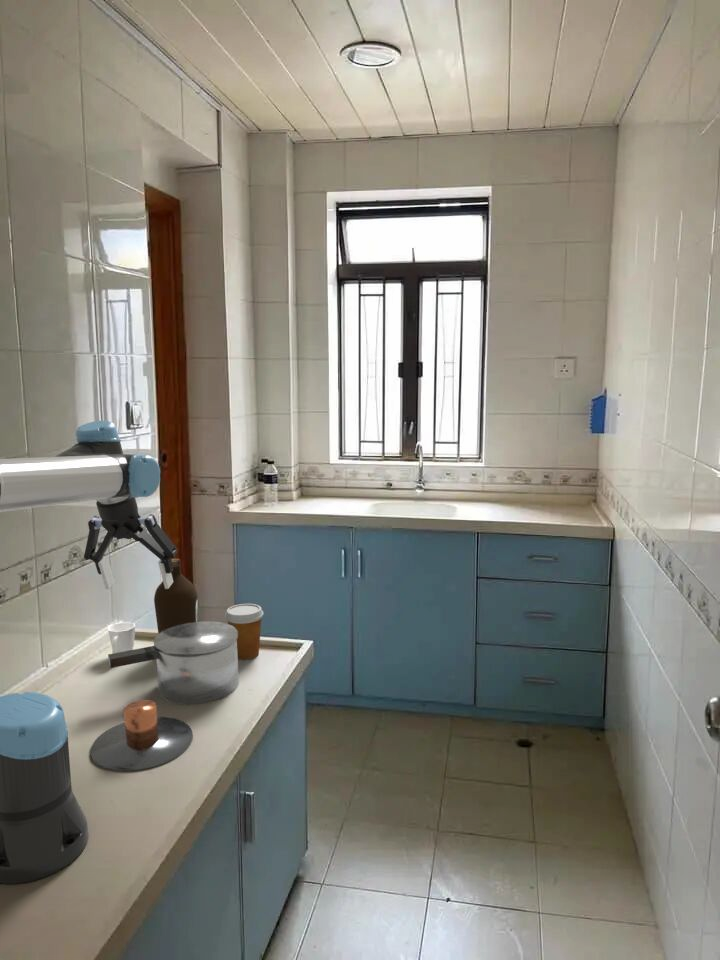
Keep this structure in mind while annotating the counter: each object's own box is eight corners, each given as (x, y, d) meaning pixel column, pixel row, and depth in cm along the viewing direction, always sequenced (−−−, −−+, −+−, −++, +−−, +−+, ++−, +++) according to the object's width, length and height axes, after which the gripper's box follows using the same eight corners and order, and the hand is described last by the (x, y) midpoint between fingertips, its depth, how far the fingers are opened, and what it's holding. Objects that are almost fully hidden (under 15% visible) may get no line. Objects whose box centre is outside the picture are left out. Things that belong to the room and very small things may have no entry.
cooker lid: (97, 783, 126) (93, 742, 125) (86, 735, 143) (83, 698, 142) (203, 756, 134) (200, 716, 133) (181, 713, 151) (178, 678, 150)
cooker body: (119, 723, 147) (114, 668, 145) (107, 687, 163) (103, 638, 161) (250, 692, 159) (248, 642, 157) (227, 662, 176) (224, 616, 174)
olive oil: (164, 667, 174) (157, 568, 170) (153, 652, 183) (146, 558, 179) (206, 657, 179) (201, 561, 175) (193, 643, 188) (187, 552, 184)
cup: (141, 650, 184) (139, 621, 183) (129, 667, 174) (127, 635, 173) (114, 651, 184) (112, 621, 183) (101, 667, 174) (98, 636, 173)
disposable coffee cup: (257, 663, 175) (255, 616, 173) (221, 660, 177) (218, 614, 175) (270, 648, 184) (268, 603, 182) (235, 646, 186) (233, 602, 184)
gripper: (179, 486, 144) (200, 575, 153) (68, 490, 149) (95, 576, 157) (164, 502, 137) (187, 595, 146) (48, 506, 142) (77, 595, 151)
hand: (139, 585), depth 152 cm, fingers open, 13 cm apart
